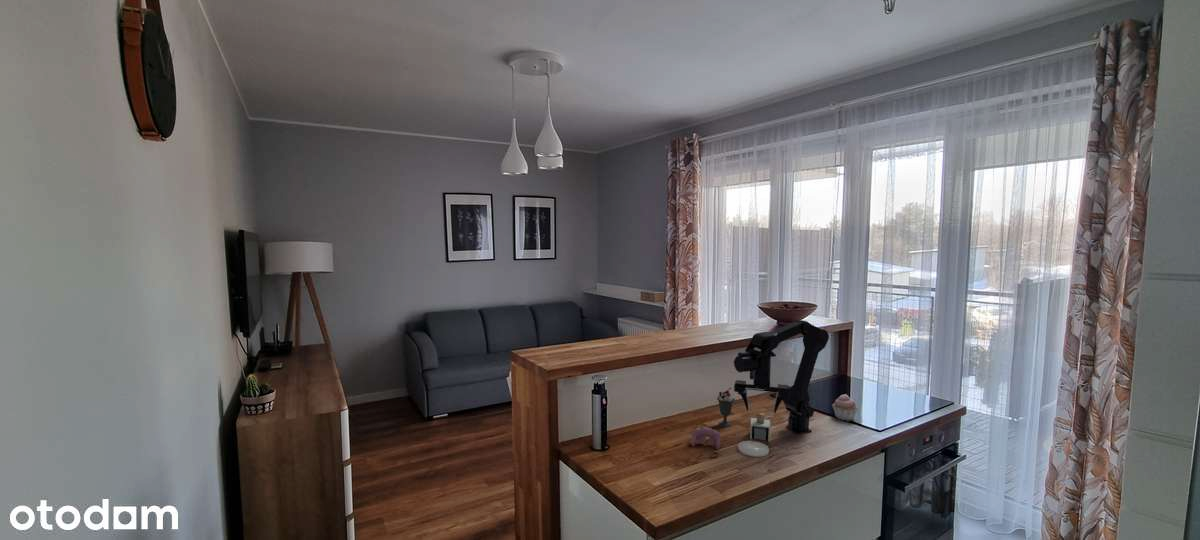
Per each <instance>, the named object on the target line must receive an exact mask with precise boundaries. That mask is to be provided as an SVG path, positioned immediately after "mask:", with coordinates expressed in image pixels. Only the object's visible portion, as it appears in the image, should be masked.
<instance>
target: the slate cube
mask: <svg viewBox="0 0 1200 540" xmlns="http://www.w3.org/2000/svg"><path fill="white" fill-rule="evenodd" d="M753 434H754V435H753V439H754V440H756V439H757V440H762V441H766V440H767V435H766V428H764V427H756V426H754V433H753Z"/></svg>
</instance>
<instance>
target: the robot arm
mask: <svg viewBox="0 0 1200 540" xmlns="http://www.w3.org/2000/svg"><path fill="white" fill-rule="evenodd" d="M798 335H801V336H802V342H803V348H804V349H803V351H802V352H803V353H802V356H801V359H800V362H799V365H798V368H797V372H796V376H795V378H794V382H793V385H791V386H789V385H788V384H780V383H778V384H777V386H771V367H772V366H771V364H772V361H771V360H772V357H776V356H777V355H776V353H774V352H773V350H775V349H777V347H778V346H779V345H780V344H781V343H782V342H785V341H787V340H789V339H791V338H793V337H796V336H798ZM829 339H830V335H829V333H828V331H827V330H826V329H824V328H820V327H817V326H815V325H814V324H811V323H810V322H808V321H807V320H804V319H803V320H802V319H795V320H794V321H793V322H791V323H788V324H786V325H784V326H781V327H779V328H777V329H774V330H772V331H762V332H756V333H755V334H754V335H752V338H751V339H750V341H749V343H748V344H747V346H746V348H745V350H744V352H742V351H741V352H739V351H738V352H737V356H736V357H735V358H734V361H733V365H734V369H735V371H737V372H738V373H746V372H749V379H750V380H752V381H753V384H751V383H747V381H746V380H740V379H736V380H735V381H734V383H733V385H734V387H733V391H734V392H736V393H737V394H738V395H740V396H741V398H742V400H743V402H744V405H745V408H746V411H749V399H748V390H749V391H758V392H759V391H760V392H766V393H767V392H768V393H769V392H770V393H776V395H775V402H774V408H773V413H774V415H775V414H776V412H777V411H778V408H779V406H780V404H781V403H782V401H783V404H784V406H785V410H786V411H787V412H789V415H788V421H787V422H788V423H787V425H786V428H788V429H789V430H791V431H792V432H793V433H796V434H802V433H812V429H810V418H812V417H813V416H814V413H815V410H814V409H813V408H812V407H811V405H810V404H809V403H810V395H809V390H808V389H809V386H810V382H811V379H812V376H813V372H814V368H815V366H816V362H817V359H818V356H819V354H820V352H822V351H823V349H825V348H826V345H827V344H828V342H829Z"/></svg>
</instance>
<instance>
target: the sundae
mask: <svg viewBox="0 0 1200 540" xmlns="http://www.w3.org/2000/svg"><path fill="white" fill-rule="evenodd" d="M730 390H732V387H729V388H728V389H726V391H723V392H722V391H719V393H718V395H719V396H717V397H716V400H717V401H718V405H719V406H718V407H719V412H720V414H721V415H722V416H723V420H722V421H720V422H718V423H717V424H718V425H719V426H720V427H724V428H730V427H732V423H731V422H729V421H728V420H727V417H728V416H730V414H731V413H732V408H733V403H734V402H735V399H736V398H733V397H732V395H731V393H730Z"/></svg>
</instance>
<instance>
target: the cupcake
mask: <svg viewBox="0 0 1200 540" xmlns="http://www.w3.org/2000/svg"><path fill="white" fill-rule="evenodd" d="M831 406H832V409H833V411H834V414H835V415H834V416H835V418H836V417H837V418H836V419H837V420H840V419H841V420H840V421H843V420H846V421H845V422H851V421H850V420H852V421H854V419H855V417H856V413H857V412H858V410H859V408H858V407H857V404H856V402H855V400H854V399H853V398H851V397H850V396H849V395H848V394H847V393H845V394H841V395H840V396H838V397H837V398H836V399H835V401H834V402H833V404H831Z"/></svg>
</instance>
